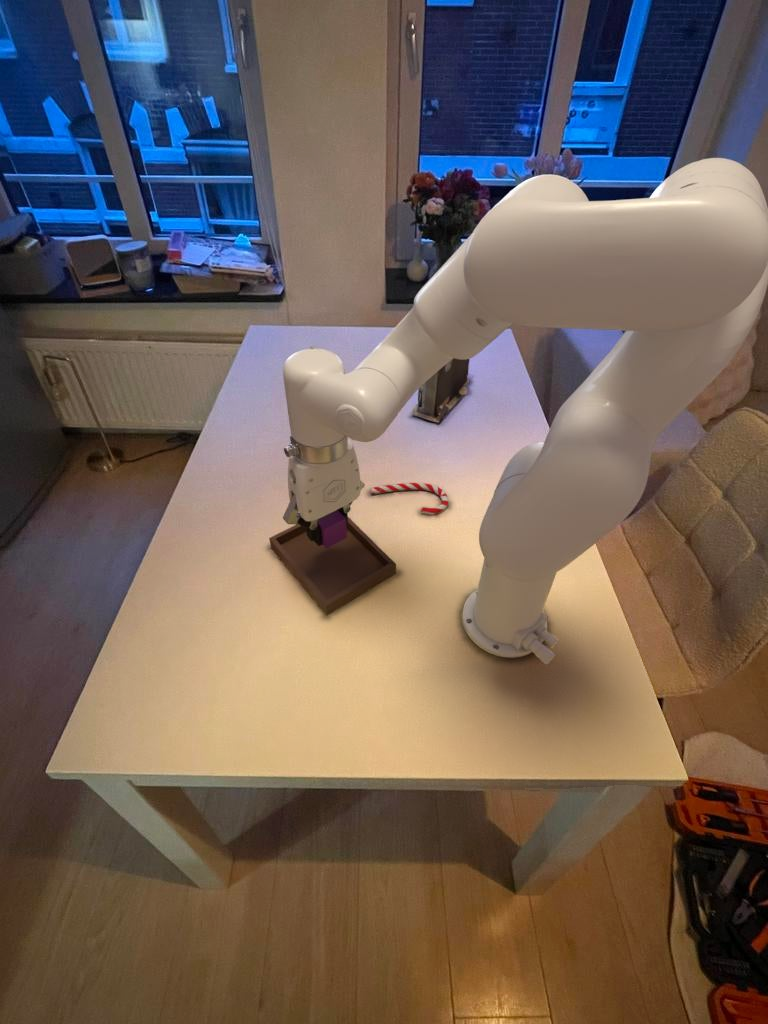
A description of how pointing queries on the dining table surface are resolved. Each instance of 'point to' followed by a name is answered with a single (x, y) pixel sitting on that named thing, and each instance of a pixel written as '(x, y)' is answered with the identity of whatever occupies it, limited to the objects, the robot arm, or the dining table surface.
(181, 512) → the dining table surface
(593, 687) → the dining table surface
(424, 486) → the candy cane
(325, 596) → the tray
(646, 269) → the robot arm
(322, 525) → the cube
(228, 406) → the dining table surface
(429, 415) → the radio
